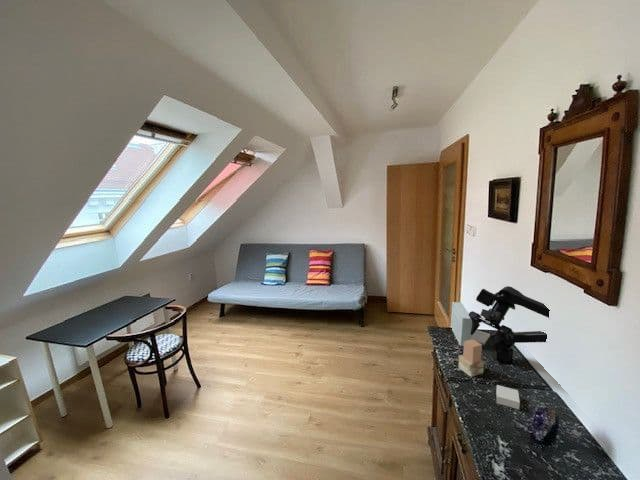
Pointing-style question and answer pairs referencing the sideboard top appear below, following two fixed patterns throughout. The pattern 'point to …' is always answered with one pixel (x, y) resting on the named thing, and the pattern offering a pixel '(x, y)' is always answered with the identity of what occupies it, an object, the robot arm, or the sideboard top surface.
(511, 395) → the block
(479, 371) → the tower base
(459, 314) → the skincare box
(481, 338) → the external hard drive
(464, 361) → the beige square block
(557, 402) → the sideboard top surface
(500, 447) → the sideboard top surface
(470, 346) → the terracotta block
